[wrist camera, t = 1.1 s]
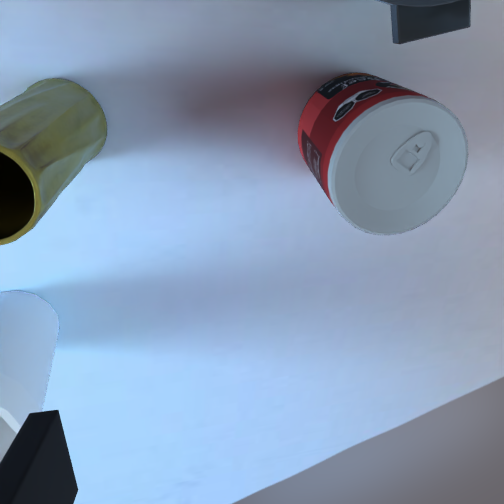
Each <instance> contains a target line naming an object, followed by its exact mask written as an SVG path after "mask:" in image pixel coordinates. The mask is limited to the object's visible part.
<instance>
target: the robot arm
mask: <svg viewBox="0 0 504 504" xmlns="http://www.w3.org/2000/svg"><path fill="white" fill-rule="evenodd" d="M77 492H78V487H77V483H76V479H75V475H74V471H73V467H72V463H71V459H70V455H69V451H68V447H67V443H66V439H65V435H64V431H63V427H62V423H61V419H60V415H59V411H58V410H53V411H44V412H35V413H29V415H28V417H27V418H26V420H25V422H24V423H23V425H22V427H21V428H20V430H19V432H18V434H17V435H16V437H15V439H14V440H13V442H12V444H11V445H10V447H9V449H8V450H7V452H6V454H5V455H4V457H3V459H2V461H1V462H0V504H73V503H74V500H75V497H76V494H77Z"/></svg>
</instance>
